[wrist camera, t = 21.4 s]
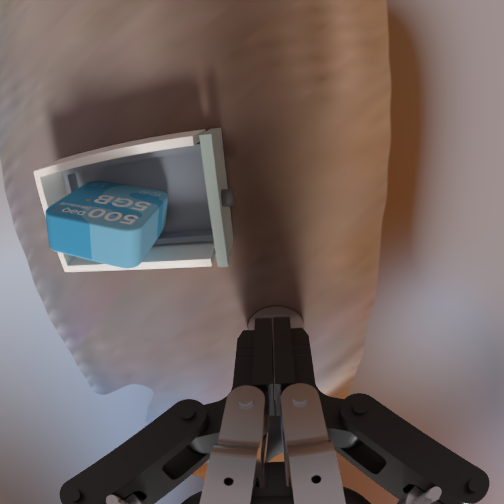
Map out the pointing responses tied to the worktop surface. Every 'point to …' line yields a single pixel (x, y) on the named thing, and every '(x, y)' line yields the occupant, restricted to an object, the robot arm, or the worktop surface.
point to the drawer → (177, 189)
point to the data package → (107, 223)
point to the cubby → (52, 176)
